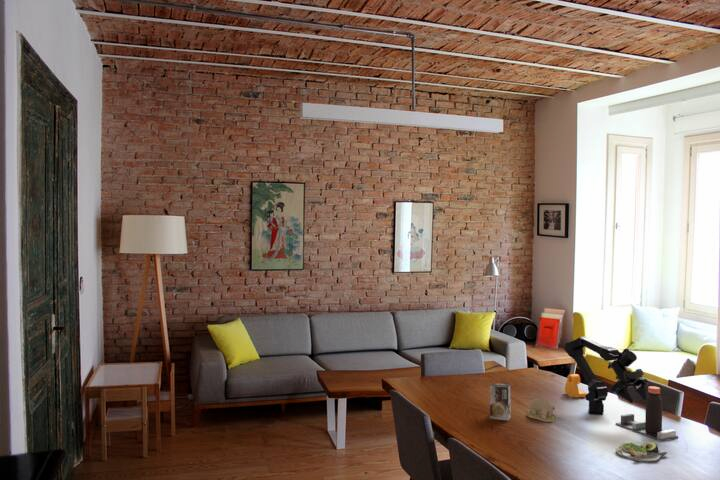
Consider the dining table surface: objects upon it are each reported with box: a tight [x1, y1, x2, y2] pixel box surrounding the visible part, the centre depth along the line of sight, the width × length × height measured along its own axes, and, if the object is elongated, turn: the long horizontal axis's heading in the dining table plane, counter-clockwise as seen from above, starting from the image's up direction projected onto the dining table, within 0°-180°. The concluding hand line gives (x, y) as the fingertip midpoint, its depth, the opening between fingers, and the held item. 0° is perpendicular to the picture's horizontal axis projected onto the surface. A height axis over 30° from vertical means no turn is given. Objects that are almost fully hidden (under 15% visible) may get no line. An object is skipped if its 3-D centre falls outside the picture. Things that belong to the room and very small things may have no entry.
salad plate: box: [614, 441, 668, 463], centre depth 246 cm, size 19×18×5 cm
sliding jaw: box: [620, 413, 645, 429], centre depth 282 cm, size 10×9×4 cm
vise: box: [615, 420, 679, 442], centre depth 276 cm, size 24×11×3 cm, turn 24°
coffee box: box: [489, 382, 512, 421], centre depth 294 cm, size 9×6×16 cm
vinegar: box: [644, 385, 663, 434], centre depth 273 cm, size 7×7×20 cm
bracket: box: [564, 373, 588, 398], centre depth 335 cm, size 11×7×12 cm, turn 13°
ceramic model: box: [526, 397, 557, 423], centre depth 295 cm, size 14×11×10 cm
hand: (639, 401), depth 280 cm, fingers open, 9 cm apart
